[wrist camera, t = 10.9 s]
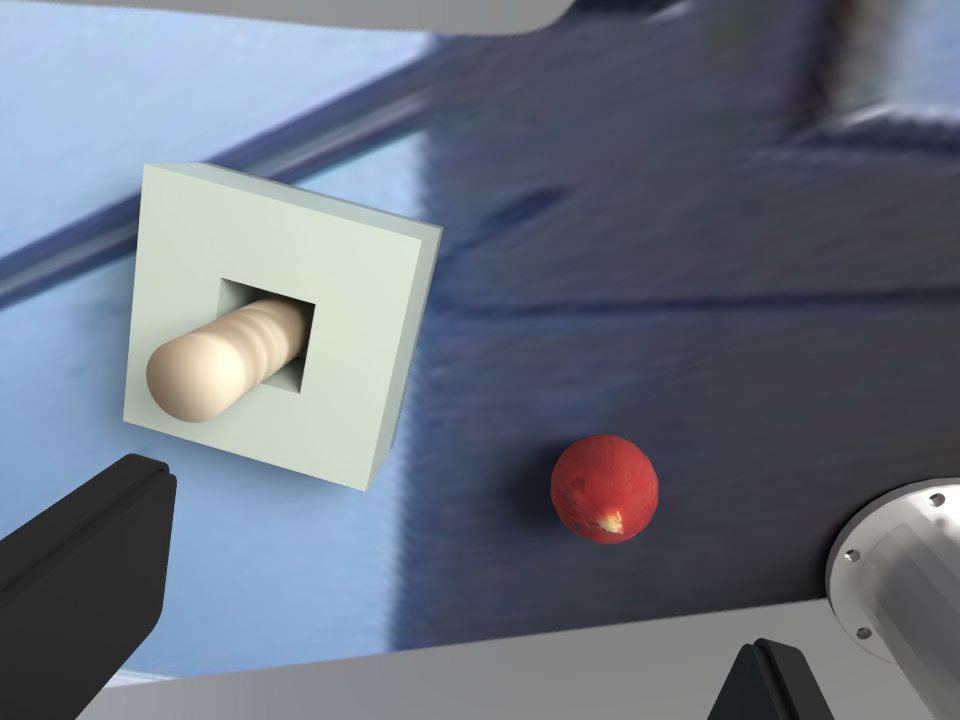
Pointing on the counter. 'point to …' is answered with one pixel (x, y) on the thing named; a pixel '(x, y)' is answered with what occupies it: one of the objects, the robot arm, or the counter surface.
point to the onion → (604, 489)
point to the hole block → (295, 273)
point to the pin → (228, 357)
